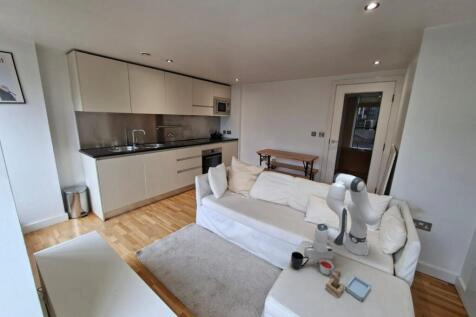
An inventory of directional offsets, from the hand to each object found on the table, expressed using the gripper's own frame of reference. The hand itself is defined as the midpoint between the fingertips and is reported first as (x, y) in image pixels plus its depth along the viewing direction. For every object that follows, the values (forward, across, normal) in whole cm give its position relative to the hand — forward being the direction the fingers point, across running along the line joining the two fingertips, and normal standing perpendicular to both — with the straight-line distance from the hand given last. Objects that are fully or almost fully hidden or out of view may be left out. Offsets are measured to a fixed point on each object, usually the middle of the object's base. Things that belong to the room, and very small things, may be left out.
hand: (317, 262), depth 142 cm
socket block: (+3, +3, -20) cm, 21 cm away
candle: (+3, +4, -5) cm, 7 cm away
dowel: (+3, +3, -20) cm, 21 cm away
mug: (+3, -14, -2) cm, 14 cm away
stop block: (+3, +9, -11) cm, 14 cm away
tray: (+3, +18, -20) cm, 27 cm away
